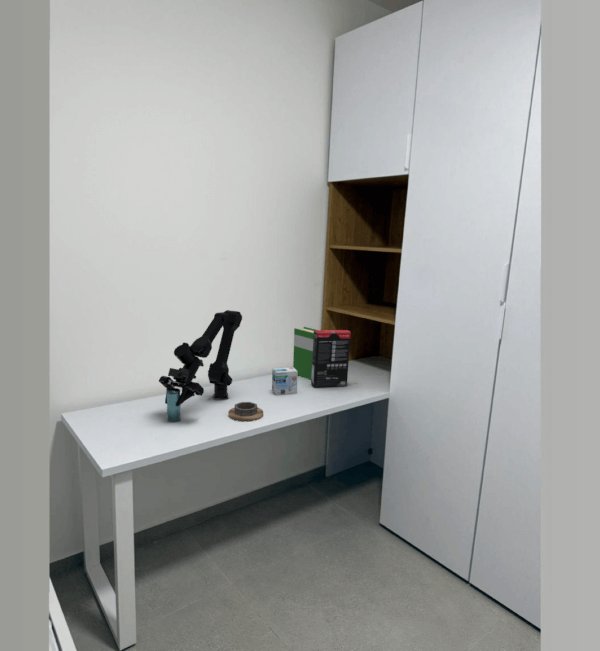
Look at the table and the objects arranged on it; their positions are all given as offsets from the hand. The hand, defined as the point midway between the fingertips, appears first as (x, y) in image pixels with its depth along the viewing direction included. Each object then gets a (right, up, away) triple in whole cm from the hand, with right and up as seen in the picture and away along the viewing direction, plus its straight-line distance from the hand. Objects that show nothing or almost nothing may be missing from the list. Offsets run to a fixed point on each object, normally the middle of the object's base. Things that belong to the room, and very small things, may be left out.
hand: (171, 404), depth 193 cm
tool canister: (0, -6, +3) cm, 7 cm away
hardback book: (+54, +4, +64) cm, 84 cm away
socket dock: (+28, -6, +10) cm, 30 cm away
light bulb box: (+42, 0, +39) cm, 57 cm away
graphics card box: (+64, +1, +50) cm, 81 cm away
